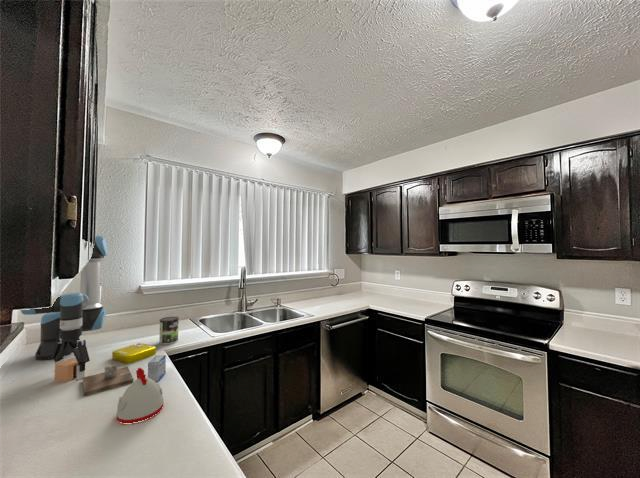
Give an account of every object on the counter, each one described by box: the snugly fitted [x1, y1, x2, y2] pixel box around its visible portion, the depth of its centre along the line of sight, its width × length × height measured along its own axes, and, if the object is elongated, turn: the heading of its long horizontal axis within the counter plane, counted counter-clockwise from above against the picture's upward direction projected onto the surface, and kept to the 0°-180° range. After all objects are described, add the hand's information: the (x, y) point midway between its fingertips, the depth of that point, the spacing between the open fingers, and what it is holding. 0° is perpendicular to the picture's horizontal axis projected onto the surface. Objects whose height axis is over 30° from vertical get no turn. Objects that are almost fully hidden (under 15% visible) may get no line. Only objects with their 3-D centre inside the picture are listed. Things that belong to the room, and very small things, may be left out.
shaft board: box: [82, 363, 134, 397], centre depth 116 cm, size 16×16×6 cm
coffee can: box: [159, 316, 180, 345], centre depth 165 cm, size 10×10×14 cm
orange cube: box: [54, 357, 78, 383], centre depth 120 cm, size 7×7×7 cm
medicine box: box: [147, 354, 167, 383], centre depth 120 cm, size 8×4×9 cm, turn 9°
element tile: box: [111, 342, 156, 365], centre depth 143 cm, size 15×15×5 cm
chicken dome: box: [116, 367, 164, 423], centre depth 96 cm, size 14×14×15 cm
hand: (69, 377), depth 120 cm, fingers open, 11 cm apart
